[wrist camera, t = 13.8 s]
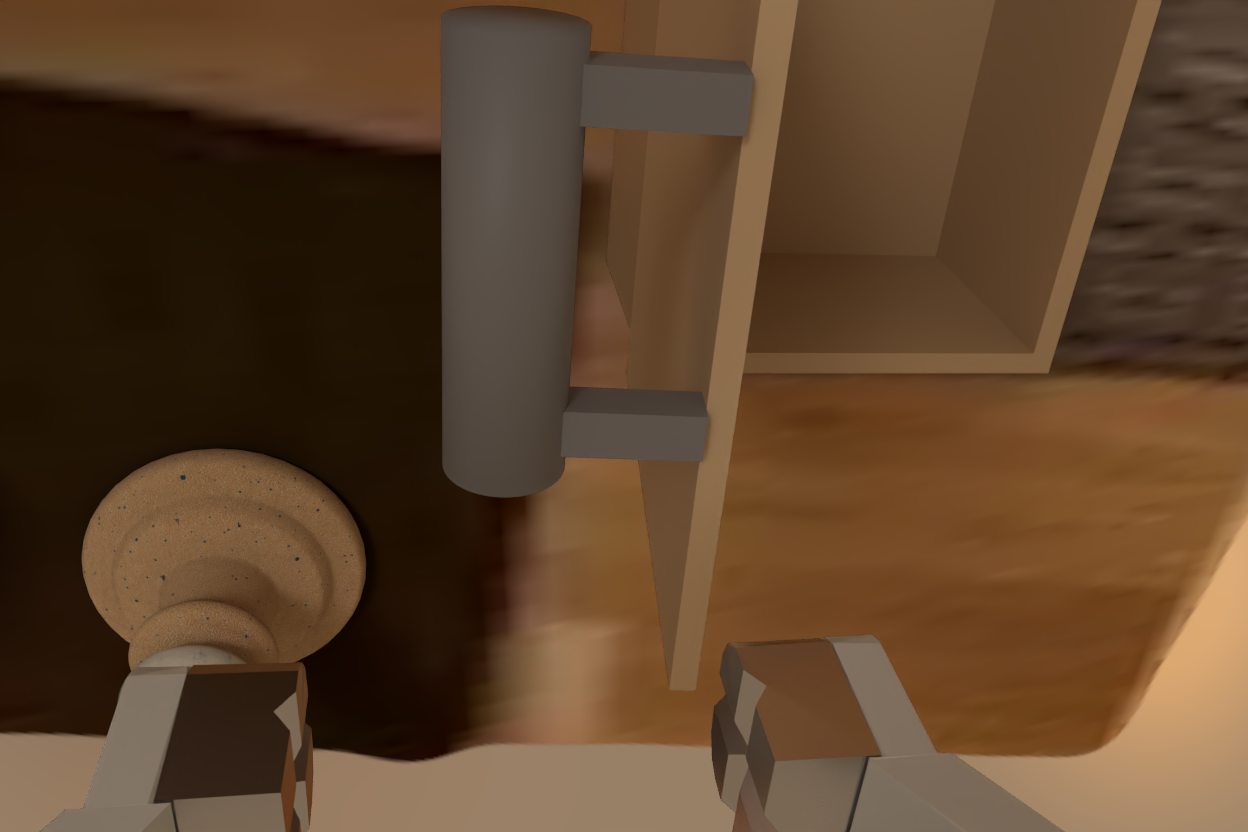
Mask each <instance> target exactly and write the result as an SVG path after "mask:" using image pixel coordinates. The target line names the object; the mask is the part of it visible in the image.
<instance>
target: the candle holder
mask: <svg viewBox="0 0 1248 832" xmlns="http://www.w3.org/2000/svg"><path fill="white" fill-rule="evenodd" d="M82 567H83V576H84V579H85V583H86V586H87V589H88V592H89V595H90V597H91V599H92V601H93V603H94V605H95V607H96V608H97V610H98V612H99V613H100V614H101V616H102V617H103V618H104V619H105V621H106V622H107V623H108V624H109V626H110V627H112V628H113V629H114V630H115V631H116V632H117V633H118V634H119V635H120V636H121V637H122V638H123V639H125V640H126V641H128V642H129V643H130V647H129V654H128V656H129V665H130V668H131V672H132V671H133V670H134V669H135V667H178V666H191V667H192V666H193V665H212V664H257V663H293V662H296V661H298V660H300V659H302V658H304V657H306V656H308V655H310V654H312V653H314V652H315V651H317V650H318V649H320V648H321V647H322V646H324V645H325V644H327V643H328V642H329V641H330V640H331V639H332V638H333V637H334V636H335V635H336V634H337V633H339V632H340V631H341V629H342V628H343V627H344V626H345V624H346V623H347V621H348V620H349V619H350V617H351V616H352V615H353V613H354V611H355V609H356V607H357V605H358V603H359V601H360V598H361V594H362V590H363V586H364V583H365V574H366V557H365V550H364V544H363V541H362V538H361V535H360V532H359V529H358V527H357V524H356V522H355V521H354V519H353V517H352V515H351V514H350V512H349V510H348V509H347V507H346V506H345V505H344V504H343V503H342V501H341V500H340V499H339V498H338V497H337V495H336V494H335V493H334V492H332V491H331V490H330V489H329V488H328V487H327V486H326V485H324V484H323V483H322V482H321V481H320V480H318V479H316V478H315V477H313V476H312V475H310V474H309V473H307V472H306V471H304V470H302V469H300V468H298V467H296V466H294V465H292V464H290V463H287V462H285V461H283V460H280V459H277V458H273V457H270V456H267V455H264V454H260V453H255V452H249V451H244V450H235V449H203V450H192V451H187V452H183V453H178V454H173V455H170V456H167V457H164V458H161V459H159V460H156V461H153V462H151V463H149V464H147V465H145V466H143V467H141V468H139V469H138V470H136V471H134V472H132V473H131V474H130V475H128V476H127V477H126V478H125V479H123V480H122V481H121V482H119V483H118V484H117V485H116V486H115V487H114V488H113V489H112V490H111V491H110V492H109V493H108V494H107V495H106V497H105V498H104V499H103V500H102V501H101V503H100V504H99V506H98V508H97V510H96V511H95V513H94V515H93V516H92V518H91V520H90V522H89V525H88V528H87V531H86V534H85V537H84V542H83V550H82ZM131 672H130V674H131ZM130 674H129V675H130ZM129 675H128V676H129ZM127 678H128V677H127ZM127 678H126V679H127ZM124 683H125V681H124ZM124 683H123V685H122V688H121V690H120V693H119V696H118V701H119V698H120V695H121V692H122V689H123V686H124ZM117 705H118V703H117Z"/></svg>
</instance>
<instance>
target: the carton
mask: <svg viewBox="0 0 1248 832" xmlns="http://www.w3.org/2000/svg"><path fill="white" fill-rule="evenodd" d="M1161 1H1162V0H798V6H797V13H796V19H795V26H794V33H793V40H792V46H791V53H790V60H789V66H788V73H787V80H786V87H785V93H784V100H783V107H782V113H781V120H780V127H779V134H778V140H777V147H776V154H775V160H774V167H773V174H772V181H771V187H770V194H769V201H768V207H767V214H766V221H765V228H764V234H763V241H762V248H761V254H760V261H759V268H758V275H757V281H756V288H755V295H754V301H753V308H752V315H751V322H750V328H749V335H748V342H747V348H746V355H745V362H744V369H743V373H1049V369H1050V366H1051V363H1052V360H1053V356H1054V353H1055V350H1056V346H1057V343H1058V340H1059V336H1060V333H1061V330H1062V327H1063V323H1064V320H1065V317H1066V313H1067V310H1068V307H1069V304H1070V300H1071V297H1072V294H1073V290H1074V287H1075V284H1076V281H1077V277H1078V274H1079V271H1080V267H1081V264H1082V261H1083V258H1084V254H1085V251H1086V248H1087V244H1088V241H1089V238H1090V235H1091V231H1092V228H1093V225H1094V221H1095V218H1096V215H1097V212H1098V208H1099V205H1100V202H1101V198H1102V195H1103V192H1104V189H1105V185H1106V182H1107V179H1108V175H1109V172H1110V169H1111V165H1112V162H1113V159H1114V156H1115V152H1116V149H1117V146H1118V142H1119V139H1120V136H1121V133H1122V129H1123V126H1124V123H1125V119H1126V116H1127V113H1128V110H1129V106H1130V103H1131V100H1132V96H1133V93H1134V90H1135V87H1136V83H1137V80H1138V77H1139V73H1140V70H1141V67H1142V64H1143V60H1144V57H1145V54H1146V50H1147V47H1148V44H1149V41H1150V37H1151V34H1152V31H1153V27H1154V24H1155V21H1156V18H1157V14H1158V11H1159V8H1160V4H1161ZM659 4H660V0H626V5H625V18H624V32H623V45H622V53H628V54H643V55H655V49H656V37H657V26H658V15H659ZM647 138H648V131H643V130H627V129H616V138H615V151H614V164H613V178H612V191H611V204H610V218H609V231H608V244H607V257H606V262H607V264H608V267H609V270H610V273H611V276H612V279H613V282H614V285H615V288H616V290H617V293H618V296H619V299H620V302H621V305H622V308H623V311H624V314H625V316H626V319H627V322H628V325H629V328H630V327H631V316H632V305H633V294H634V282H635V271H636V260H637V249H638V238H639V227H640V216H641V204H642V193H643V182H644V171H645V160H646V149H647Z"/></svg>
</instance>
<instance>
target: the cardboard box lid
mask: <svg viewBox="0 0 1248 832" xmlns="http://www.w3.org/2000/svg"><path fill="white" fill-rule="evenodd" d="M797 6H798V0H660V4H659V15H658V26H657V37H656V49H655V55H643V54H628V53H613V52H598V51H590V44H591V27H592V26H591V24H590V23H589V22H588V21H586V20H584V19H582V18H580V17H577V16H574V15H570V14H566V13H562V12H557V11H551V10H545V9H538V8H528V7H516V6H472V7H463V8H456V9H452V10H448V11H446V12H444V13H442V15H441V207H442V465H443V470H444V472H445V474H446V475H447V477H448V478H449V479H450V480H451V481H452V482H453V483H455V484H456V485H458V486H459V487H461V488H463V489H465V490H468V491H470V492H473V493H476V494H480V495H485V496H492V497H519V496H525V495H530V494H534V493H537V492H540V491H542V490H544V489H547V488H548V487H550V486H552V485H553V484H554V483H555V482H557V481H558V480H559V478H560V477H561V476H562V474H563V471H564V467H565V457H578V458H608V459H638V463H639V470H640V477H641V485H642V492H643V500H644V507H645V515H646V522H647V529H648V537H649V544H650V552H651V559H652V566H653V574H654V581H655V589H656V596H657V604H658V611H659V618H660V626H661V633H662V641H663V648H664V655H665V663H666V670H667V678H668V685H669V690H691V691H696V684H697V677H698V671H699V664H700V657H701V650H702V644H703V637H704V630H705V624H706V617H707V610H708V603H709V597H710V590H711V583H712V577H713V570H714V563H715V556H716V550H717V543H718V536H719V530H720V523H721V516H722V510H723V503H724V496H725V489H726V483H727V476H728V469H729V463H730V456H731V449H732V442H733V436H734V429H735V422H736V416H737V409H738V402H739V395H740V389H741V382H742V375H743V369H744V362H745V355H746V348H747V342H748V335H749V328H750V322H751V315H752V308H753V301H754V295H755V288H756V281H757V275H758V268H759V261H760V254H761V248H762V241H763V234H764V228H765V221H766V214H767V207H768V201H769V194H770V187H771V181H772V174H773V167H774V160H775V154H776V147H777V140H778V134H779V127H780V120H781V113H782V107H783V100H784V93H785V87H786V80H787V73H788V66H789V60H790V53H791V46H792V40H793V33H794V26H795V19H796V13H797ZM585 127H594V128H610V129H627V130H643V131H648V138H647V149H646V160H645V171H644V182H643V193H642V204H641V216H640V227H639V238H638V249H637V260H636V271H635V282H634V294H633V305H632V316H631V327H630V338H629V349H628V360H627V371H626V374H627V381H628V388H629V389H617V388H591V387H569V386H570V370H571V353H572V337H573V321H574V304H575V288H576V272H577V256H578V239H579V223H580V207H581V190H582V174H583V158H584V141H585Z"/></svg>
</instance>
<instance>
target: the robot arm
mask: <svg viewBox="0 0 1248 832" xmlns="http://www.w3.org/2000/svg"><path fill="white" fill-rule="evenodd" d="M720 676H721V679H722V682H723V686H724V689H725V692H726V695H725V696H724V697H723V698H722V699H721V700H720V701H719V702H718V703H717V704H716V705H715V706H714V713H713V721H712V730H711V739H712V761H713V767H714V773H715V779H716V783H717V787H718V791H719V795H720V799H721V801H722V802H723V803H725V804H726V805H727V806H728V807H729V808H730V809H732V810H733V811H734V812H735V813H736V814H735V820H734V825H733V831H732V832H1064V831H1063V830H1062V829H1060V828H1059V827H1057V826H1056V825H1054V824H1053V823H1051V822H1050V821H1049V820H1047V819H1046V818H1044V817H1043V816H1041V815H1040V814H1038V813H1037V812H1036V811H1034V810H1033V809H1031V808H1030V807H1029V806H1027V805H1026V804H1024V803H1023V802H1021V801H1020V800H1018V799H1017V798H1016V797H1014V796H1013V795H1011V794H1010V793H1008V792H1007V791H1006V790H1004V789H1003V788H1001V787H999V786H998V785H997V784H996V783H994V782H993V781H991V780H990V779H988V778H987V777H985V776H984V775H983V774H981V773H980V772H978V771H977V770H975V769H974V768H973V767H971V766H970V765H968V764H967V763H965V762H964V761H963V760H961V759H960V758H958V757H957V756H955V755H954V754H952V753H940V754H938V753H937V751H936V750H935V748H934V746H933V744H932V742H931V740H930V738H929V736H928V734H927V732H926V730H925V728H924V726H923V724H922V722H921V720H920V719H919V717H918V715H917V713H916V711H915V709H914V707H913V705H912V703H911V701H910V699H909V697H908V695H907V693H906V691H905V690H904V688H903V686H902V684H901V682H900V680H899V678H898V676H897V674H896V672H895V670H894V668H893V666H892V664H891V662H890V660H889V659H888V657H887V655H886V653H885V651H884V649H883V647H882V645H881V643H880V641H879V640H878V639H876V638H875V637H874V636H873V635H871V634H870V635H854V636H837V637H824V638H823V639H820V638H813V639H794V640H776V641H757V642H738V643H728V644H727V646H726V648H725V650H724V653H723V657H722V662H721V668H720ZM307 697H308V690H307V681H306V673H305V667H304V665H303V663H257V664H212V665H193V666H192V667H191V666H178V667H135V669H134V670H133V671H132V672H131V674H130V675H129V676H128V678H127V679H126V680H125V683H124V686H123V689H122V692H121V695H120V698H119V701H118V705H117V708H116V711H115V714H114V717H113V720H112V723H111V726H110V729H109V732H108V735H107V738H106V741H105V744H104V747H103V750H102V753H101V756H100V759H99V762H98V765H97V768H96V771H95V774H94V777H93V780H92V783H91V786H90V789H89V792H88V795H87V798H86V801H85V804H84V807H83V808H80V809H68V810H64V811H63V812H62V813H61V814H60V815H59V816H58V817H56V818H55V819H54V820H53V821H52V822H50V823H49V824H48V825H47V826H46V827H45V828H43V829H42V830H41V831H40V832H307V831H308V829H309V825H310V816H311V806H312V787H313V746H312V733H311V727H309V726H308V725H307V724H306V723H305V714H306V705H307Z"/></svg>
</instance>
